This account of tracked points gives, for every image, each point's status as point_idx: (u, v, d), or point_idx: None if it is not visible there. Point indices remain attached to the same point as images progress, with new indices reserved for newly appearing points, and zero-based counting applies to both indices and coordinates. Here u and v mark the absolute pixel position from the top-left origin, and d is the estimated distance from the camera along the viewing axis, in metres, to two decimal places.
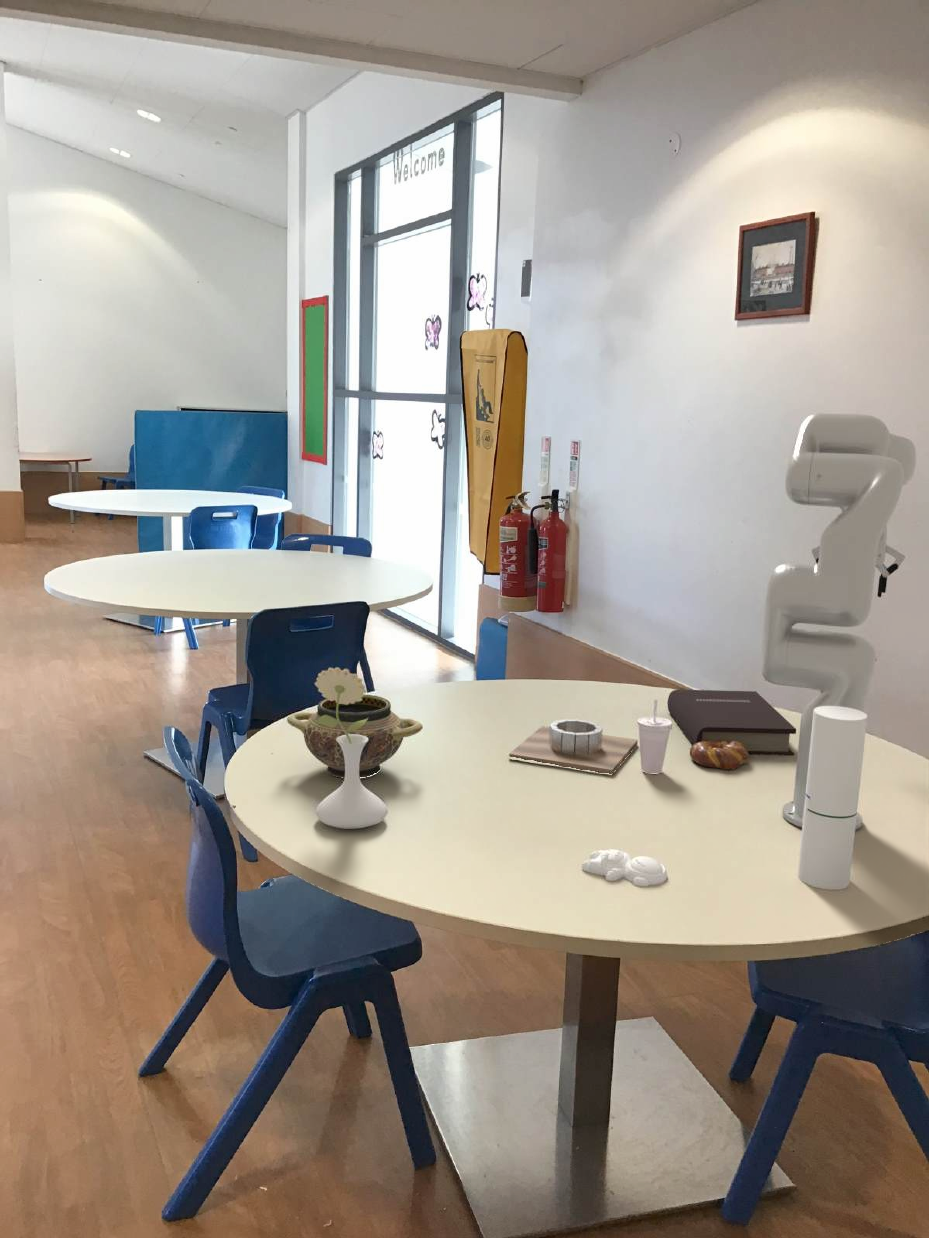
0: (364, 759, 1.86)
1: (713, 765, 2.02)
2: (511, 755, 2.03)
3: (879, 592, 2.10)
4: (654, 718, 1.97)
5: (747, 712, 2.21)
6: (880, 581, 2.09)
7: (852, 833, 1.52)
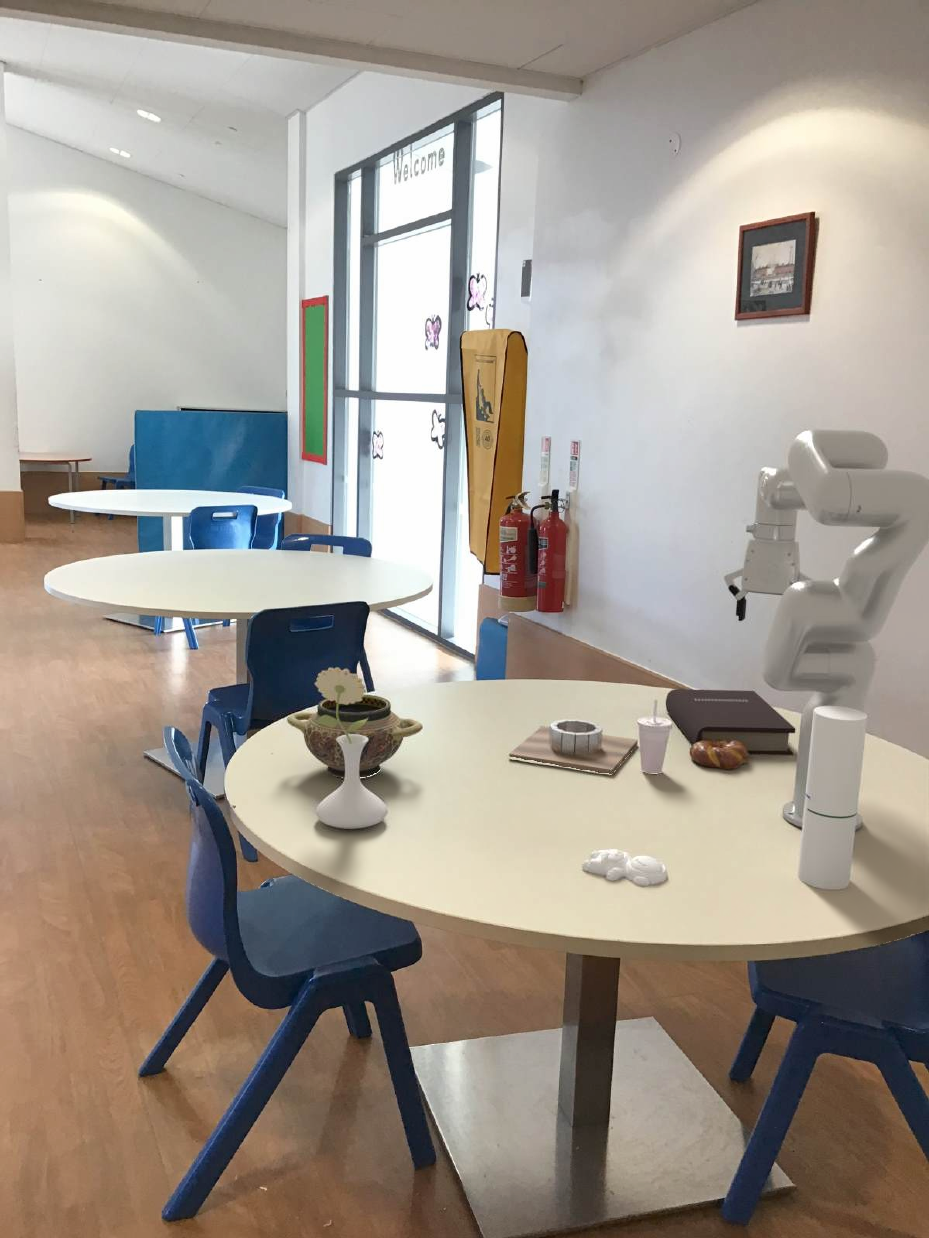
0: (364, 759, 1.86)
1: (713, 765, 2.02)
2: (511, 755, 2.03)
3: None
4: (654, 718, 1.97)
5: (746, 711, 2.21)
6: None
7: (852, 833, 1.52)
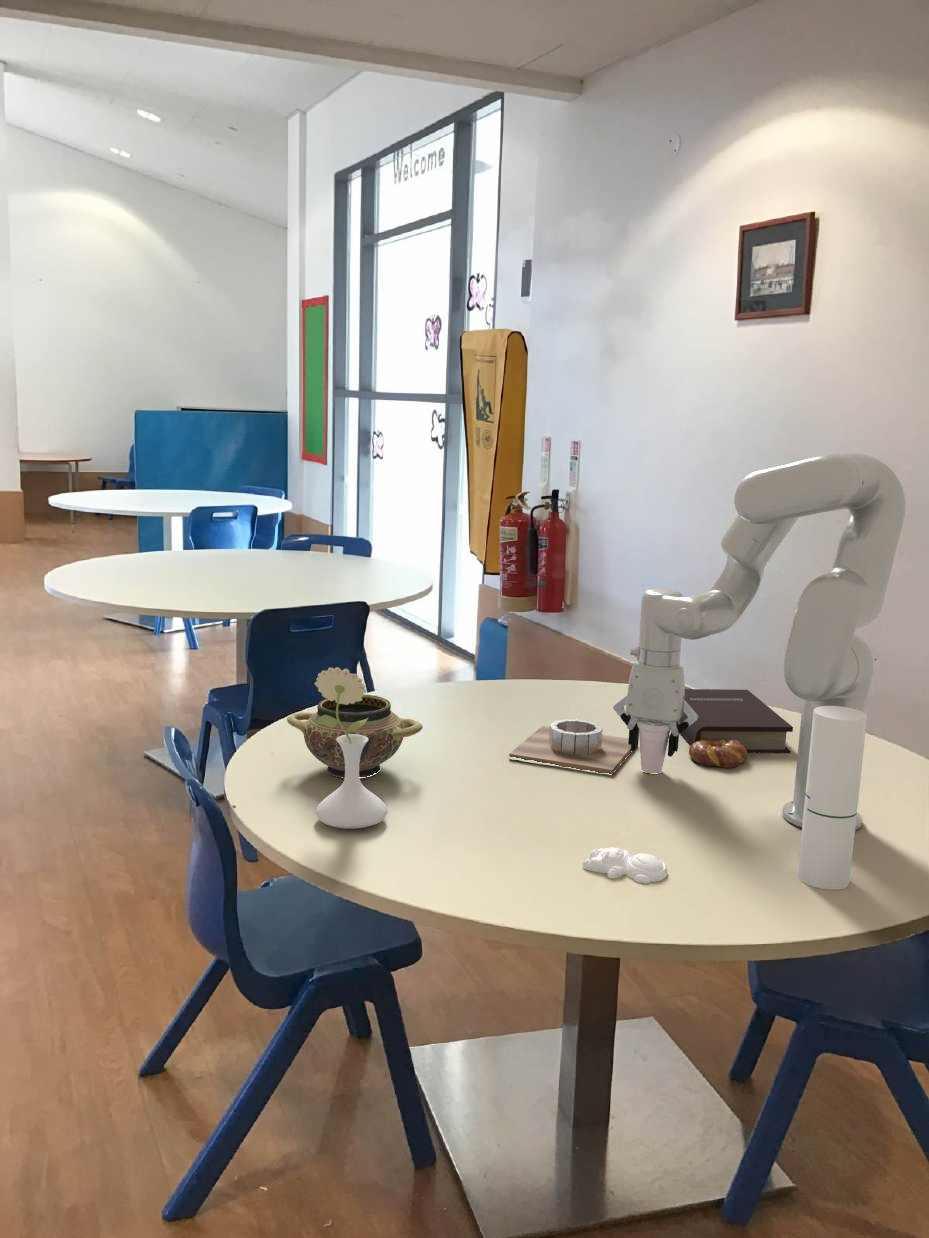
0: (364, 759, 1.86)
1: (713, 764, 2.03)
2: (511, 755, 2.03)
3: (669, 751, 1.96)
4: None
5: (743, 711, 2.22)
6: (670, 740, 1.96)
7: (852, 833, 1.52)
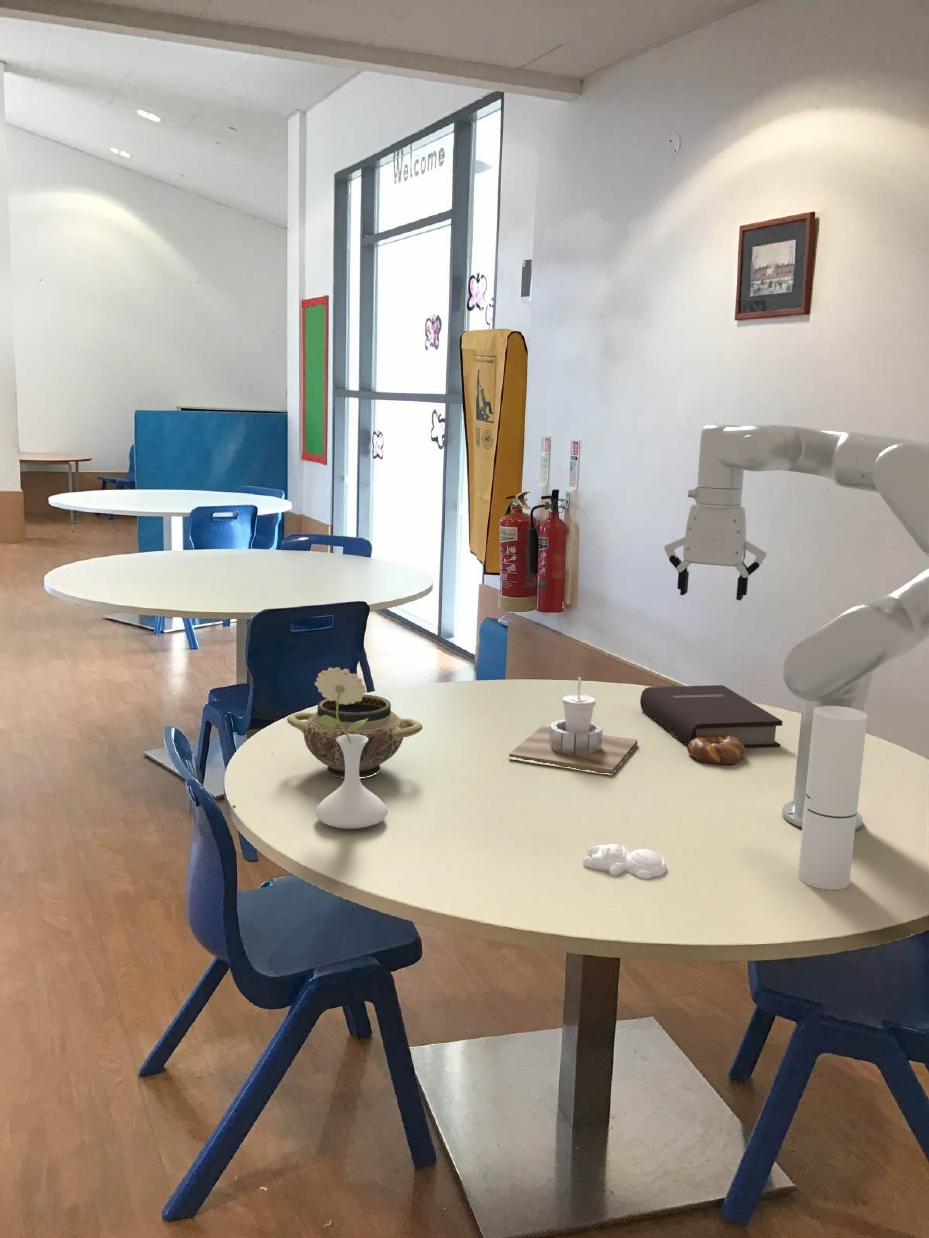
0: (364, 759, 1.86)
1: (713, 761, 2.04)
2: (511, 755, 2.03)
3: (738, 595, 1.84)
4: (578, 696, 2.06)
5: (728, 706, 2.25)
6: (739, 582, 1.83)
7: (852, 833, 1.52)
